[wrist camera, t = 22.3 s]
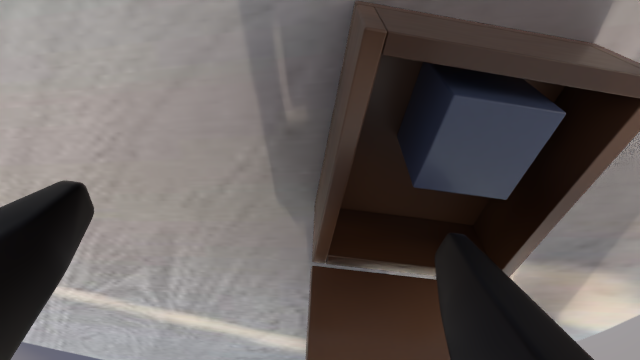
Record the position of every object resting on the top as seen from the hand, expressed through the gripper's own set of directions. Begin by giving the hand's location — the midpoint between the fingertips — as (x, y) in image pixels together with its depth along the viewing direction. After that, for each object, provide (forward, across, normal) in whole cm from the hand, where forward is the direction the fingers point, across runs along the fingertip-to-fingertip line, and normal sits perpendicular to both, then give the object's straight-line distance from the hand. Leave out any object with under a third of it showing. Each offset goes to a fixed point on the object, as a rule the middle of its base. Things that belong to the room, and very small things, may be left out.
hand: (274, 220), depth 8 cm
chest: (+10, -8, +3) cm, 13 cm away
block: (+10, -8, 0) cm, 12 cm away
